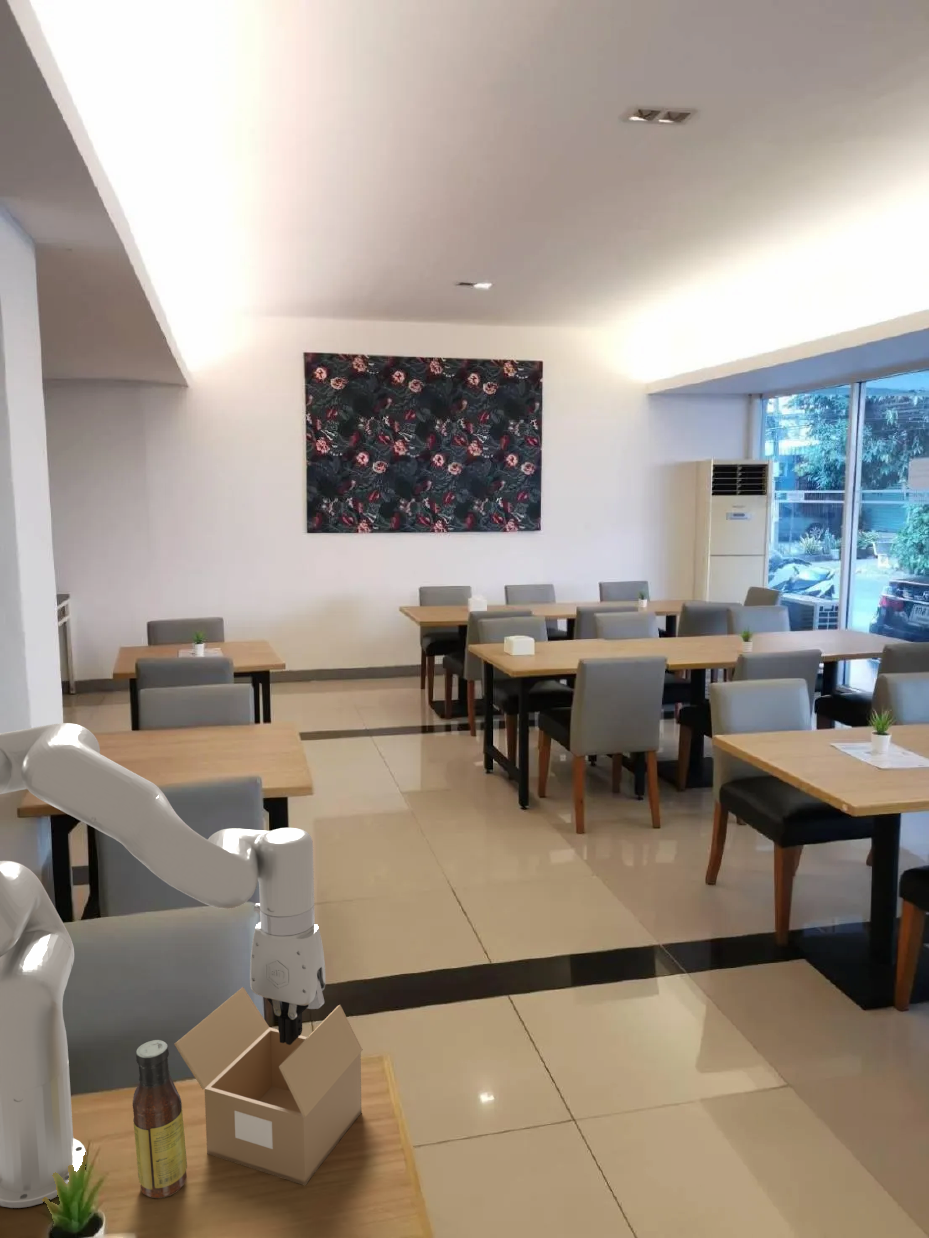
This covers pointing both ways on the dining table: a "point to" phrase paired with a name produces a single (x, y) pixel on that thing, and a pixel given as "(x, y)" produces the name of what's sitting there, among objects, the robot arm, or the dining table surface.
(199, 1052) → the flap
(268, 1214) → the dining table surface
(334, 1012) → the flap
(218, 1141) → the carton
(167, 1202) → the dining table surface
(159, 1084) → the sauce bottle
